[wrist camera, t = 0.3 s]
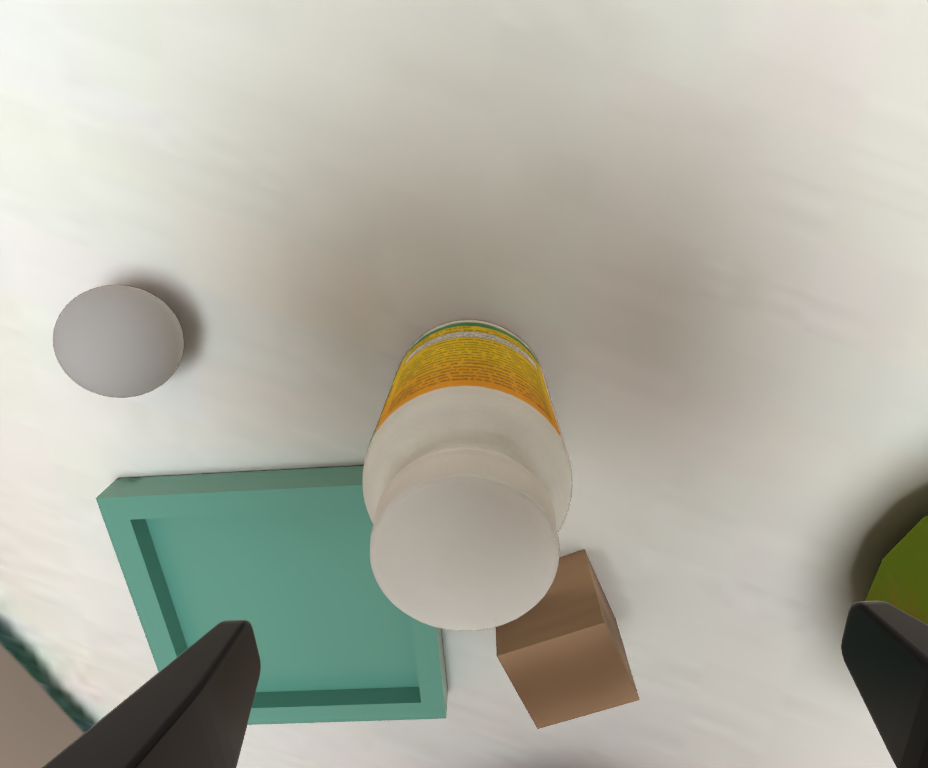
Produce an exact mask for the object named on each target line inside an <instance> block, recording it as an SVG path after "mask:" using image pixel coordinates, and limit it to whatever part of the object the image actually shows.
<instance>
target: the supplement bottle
mask: <svg viewBox="0 0 928 768" xmlns="http://www.w3.org/2000/svg"><path fill="white" fill-rule="evenodd" d="M362 485H363V495H364V501H365V504H366V508H367V511H368V514H369V516H370V518H371V521H372V523H373V529H372V533H371V538H370V562H371V568H372V571H373V574H374V577H375V579H376V581H377V583H378V585H379V587H380V588H381V590H382V592H383V593H384V594H385V595H386V597H387V598H388V599H389V600H390V601H391V602H392V603H393V604H394V605H395V606H396V607H397V608H399V609H400V610H401V611H402V612H404V613H406V614H407V615H409V616H411V617H412V618H414V619H416V620H418V621H420V622H422V623H425V624H427V625H430V626H433V627H437V628H442V629H447V630H457V631H473V630H483V629H489V628H494V627H497V626H500V625H503V624H506V623H508V622H510V621H513V620H515V619H517V618H519V617H520V616H522V615H523V614H525V613H526V612H528V611H529V610H530V609H532V608H533V607H534V606H535V605H536V604H537V603H538V602H539V601H540V600H541V599H542V598H543V597H544V596H545V594H546V593H547V591H548V590H549V588H550V586H551V585H552V583H553V581H554V578H555V575H556V572H557V568H558V564H559V539H558V533H557V532H558V531H559V529H560V527H561V525H562V524H563V522H564V519H565V517H566V515H567V512H568V509H569V505H570V501H571V495H572V471H571V465H570V461H569V457H568V454H567V450H566V447H565V444H564V441H563V438H562V435H561V431H560V428H559V425H558V421H557V418H556V415H555V411H554V408H553V405H552V401H551V398H550V395H549V391H548V388H547V385H546V381H545V378H544V374H543V371H542V368H541V366H540V364H539V362H538V360H537V358H536V356H535V355H534V353H533V352H532V350H531V349H530V348H529V347H528V345H527V344H525V343H524V342H523V341H522V340H521V339H520V338H518V337H517V336H516V335H514V334H513V333H511V332H509V331H508V330H506V329H504V328H502V327H500V326H497V325H495V324H492V323H488V322H484V321H478V320H460V321H454V322H449V323H446V324H443V325H440V326H437V327H435V328H433V329H431V330H429V331H428V332H426V333H425V334H424V335H422V336H421V337H420V338H419V339H418V340H417V341H416V342H415V343H414V344H413V345H412V346H411V348H410V349H409V350H408V352H407V353H406V355H405V356H404V358H403V360H402V362H401V364H400V366H399V369H398V371H397V373H396V376H395V378H394V381H393V384H392V386H391V389H390V392H389V394H388V397H387V399H386V402H385V405H384V408H383V411H382V413H381V416H380V419H379V422H378V424H377V427H376V429H375V431H374V434H373V436H372V439H371V441H370V444H369V447H368V451H367V454H366V458H365V462H364V468H363V482H362Z"/></svg>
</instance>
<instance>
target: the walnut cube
mask: <svg viewBox="0 0 928 768" xmlns="http://www.w3.org/2000/svg"><path fill="white" fill-rule="evenodd" d="M496 647H497V657H498V659H499V661H500V663H501V664H502V666H503V668H504V670H505V672H506V673H507V675H508V677H509V679H510V680H511V682H512V684H513V686H514V688H515V689H516V691H517V693H518V695H519V697H520V698H521V700H522V702H523V704H524V705H525V707H526V709H527V711H528V713H529V714H530V716H531V718H532V720H533V721H534V723H535V725H536V727H537V729H539V728H543V727H546V726H550V725H553V724H557V723H560V722H564V721H567V720H571V719H574V718H578V717H581V716H585V715H588V714H592V713H595V712H599V711H602V710H606V709H609V708H613V707H616V706H620V705H623V704H627V703H630V702H634V701H637V700H639V697H638V693H637V690H636V687H635V683H634V680H633V676H632V673H631V670H630V666H629V663H628V660H627V656H626V653H625V649H624V646H623V643H622V639H621V636H620V632H619V629H618V626H617V622H616V619H615V617H614V615H613V612H612V610H611V608H610V606H609V603H608V601H607V599H606V597H605V594H604V592H603V590H602V588H601V585H600V583H599V581H598V579H597V576H596V574H595V572H594V570H593V568H592V565H591V563H590V561H589V559H588V556H587V554H586V552H585V550H581V551H578V552H575V553H572V554H569V555H566V556H563V557H560V558H559V564H558V568H557V572H556V575H555V578H554V581H553V583H552V585H551V586H550V588H549V590H548V591H547V593H546V594H545V596H544V597H543V598H542V599H541V600H540V601H539V602H538V603H537V604H536V605H535V606H534V607H533V608H532V609H530V610H529V611H528V612H526V613H525V614H523V615H522V616H520V617H519V618H517V619H515V620H513V621H510V622H508V623H506V624H503V625H500V626H497V627H496Z"/></svg>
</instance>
